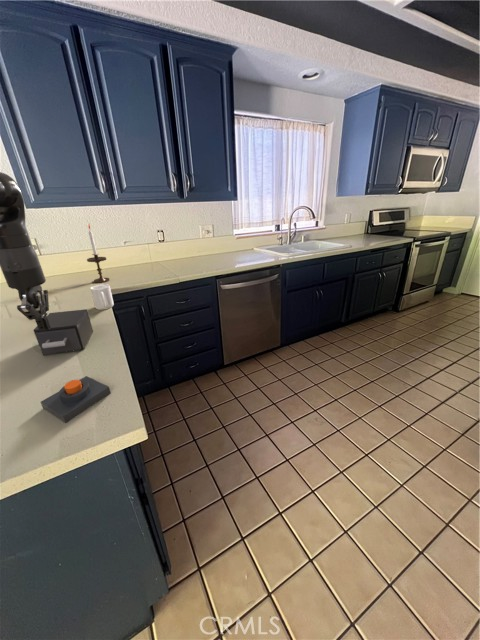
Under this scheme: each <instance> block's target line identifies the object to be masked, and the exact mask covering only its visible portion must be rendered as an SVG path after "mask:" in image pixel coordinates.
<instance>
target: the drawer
mask: <svg viewBox="0 0 480 640" xmlns="http://www.w3.org/2000/svg"><path fill="white" fill-rule="evenodd" d="M35 335H36V336H35ZM34 336H35V338H36V341H37V343H39V344H38V346H39V349H40V351H41V354H42V355H43V354H49V355H51V354H50V353H56V354H59V353H58V352H63V353H66V352H65V351H71V352H74V351H73V350H78V351H81V350H80V349H81V345H80V342H79V338H78V335H77V332H76V329H75V327H74V328H65V329H57V330H48V331H44V332H36V333H34Z"/></svg>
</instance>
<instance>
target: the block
mask: <svg viewBox="0 0 480 640" xmlns="http://www.w3.org/2000/svg"><path fill="white" fill-rule="evenodd" d="M79 380H80V381H81V384H82V389H81V390H80V391H78V392H76V393H73V394H67V393H66V391H65V388H64V386H65V385H63V387H61V388H60V390H58V391H57V392H55V393H53V394H52V395H50V396H48V397H46V398H45V399H43V400H41V401H40V404H41V407H42V409H43V410H45V412H47V413H49V414H50V415H52V416H54V417H55V418H57V419H58V420H60V421H61V422H63V423H64V424H68V423H69V422H70V421H72V420H74V419H75V418H76V417H78V416H79V415H81V414H82V413H84V412H86V411H87V410H88V409H90V408H91V407H93V406H95V404H97V403H99V402H100V401H102V400H104V398H106V397H108V396H109V395H111V394H112V393H111V389H110V387H109V385H105V384H104V383H102V382H100V381H98V380H96V379H94V378H92V377H90V376H87V375H85V376H84V377H82V378H79Z"/></svg>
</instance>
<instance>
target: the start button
mask: <svg viewBox="0 0 480 640" xmlns="http://www.w3.org/2000/svg"><path fill="white" fill-rule="evenodd" d="M63 386H64V388H65V391H66V393H67V394H73V393H76V392H78V391H80V390H81V389H82V384H81V381H80V379H73V380H72V379H71V380H70V381H68V382H66V383H65V384H64V385H63Z"/></svg>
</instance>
